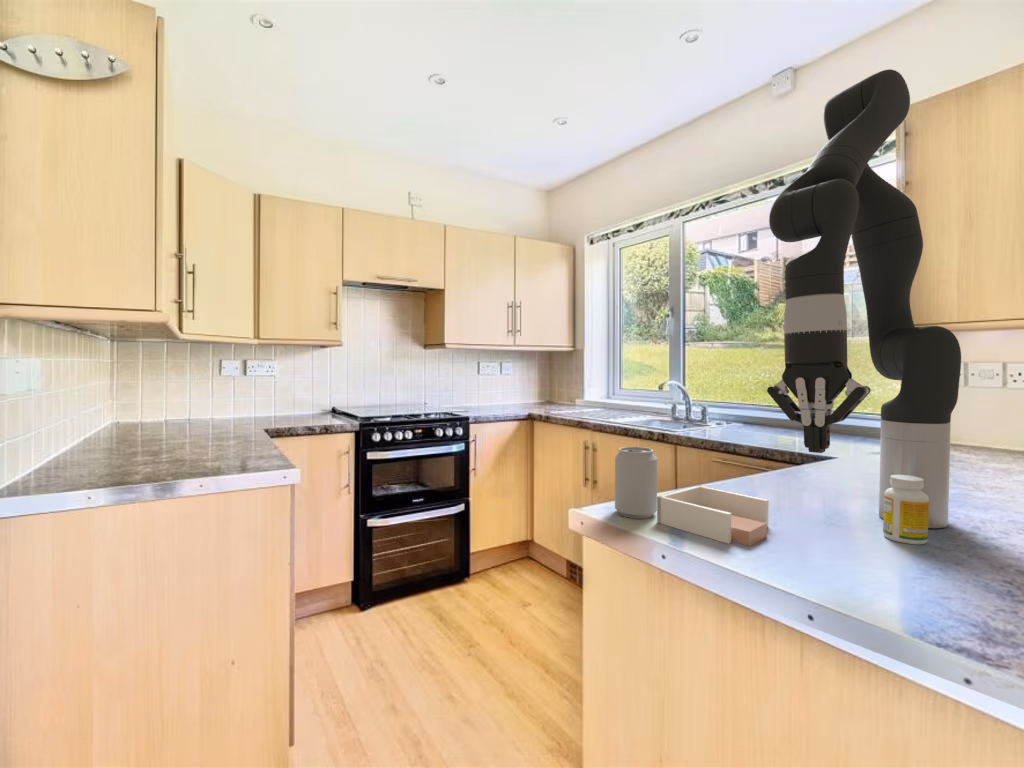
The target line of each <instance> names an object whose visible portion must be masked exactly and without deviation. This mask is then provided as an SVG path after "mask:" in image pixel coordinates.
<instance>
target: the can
mask: <svg viewBox="0 0 1024 768" xmlns="http://www.w3.org/2000/svg"><path fill="white" fill-rule="evenodd" d="M657 496H658V457H657V456H656V455H655V454H654V449H653V448H650V447H646V446H645V447H644V446H622V447H619V448H618V453H616V455H614V509H615V510H616V511H617V512H618V513H619V515H621V516H623V517H626V518H630V519H647V518H651V517H653V515H655V513H657Z"/></svg>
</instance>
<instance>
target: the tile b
mask: <svg viewBox="0 0 1024 768" xmlns="http://www.w3.org/2000/svg"><path fill="white" fill-rule="evenodd" d="M767 537H768V527H767V523H764V522H759V521H755V520H751V519H746V518H742V517H738V516H733V515H731V542H732V543H733V542H734V543H737V544H741V545H745V546H749V547H750V546H752V545H754V544H756V543H758V542H759V541H761V540H764V539H765V538H767Z"/></svg>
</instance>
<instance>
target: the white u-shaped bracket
mask: <svg viewBox="0 0 1024 768" xmlns="http://www.w3.org/2000/svg"><path fill="white" fill-rule="evenodd" d="M704 506H705V507H704ZM769 506H770V505H769V499H765V498H761V497H755V496H751V495H745V494H743V493H742V494H741V493H736V492H733V491H732V492H731V491H727V490H722V489H717V488H712V487H708V486H705V485H704V486H703V485H699V484H698V485H696V486H692V487H687V488H685V489H684V488H683V489H680V490H677V491H674V492H669V493H665V494H662V495H657V511H656V522H657V524H661V525H664V526H667V527H672V528H675V529H679V530H681V531H684V532H688V533H691V534H695V535H698V536H701V537H705V538H708V539H711V540H715V541H718V542H721V543H724V544H728V545H730V543H732V541H731V513H733V516H738V517H742V518H746V519H751V520H755V521H759V522H764V523H767V528H769ZM708 507H709V508H708ZM712 508H713V509H712ZM716 509H718V510H716ZM720 510H722V511H720ZM724 511H727V512H724ZM728 512H731V513H728Z"/></svg>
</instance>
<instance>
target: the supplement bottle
mask: <svg viewBox="0 0 1024 768" xmlns="http://www.w3.org/2000/svg"><path fill="white" fill-rule="evenodd" d="M890 484H891V485H892V488H888V489H887V490H886V491H885V493H884V517H883V518H882V519H883V520H882V521H883V523H882V525H883V526H882V533H883V535H884V537H886V539H888V540H891V541H893V542H897V543H902V544H909V545H925V544H926V543H927V542H928V536H929V528H928V514H929V497H928V496H927V494H925V493H924V492H922V491H921V489H923V487H924V479H922V478H919V477H915V476H908V475H891V476H890Z"/></svg>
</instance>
